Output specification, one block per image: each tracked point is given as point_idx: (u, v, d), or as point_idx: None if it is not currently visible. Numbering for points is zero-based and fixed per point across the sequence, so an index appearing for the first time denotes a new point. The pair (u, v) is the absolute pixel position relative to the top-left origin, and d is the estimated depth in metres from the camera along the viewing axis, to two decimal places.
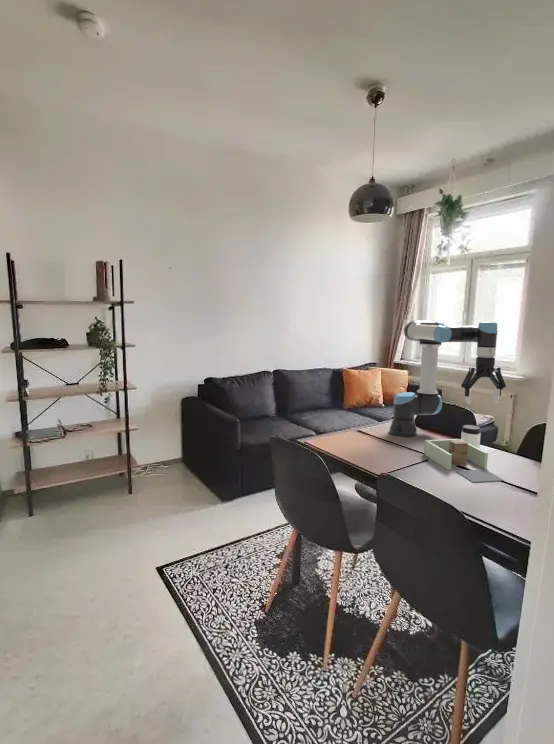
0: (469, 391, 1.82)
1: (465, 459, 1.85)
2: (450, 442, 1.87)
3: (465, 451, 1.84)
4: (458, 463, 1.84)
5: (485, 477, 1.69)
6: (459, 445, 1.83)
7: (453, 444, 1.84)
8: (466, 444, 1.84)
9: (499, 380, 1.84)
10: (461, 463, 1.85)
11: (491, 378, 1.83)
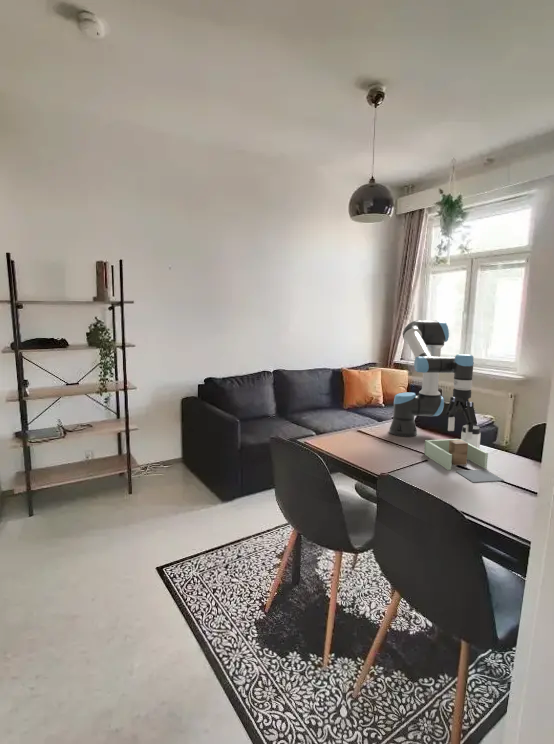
0: None
1: (465, 459, 1.85)
2: (450, 442, 1.87)
3: (465, 451, 1.84)
4: (458, 463, 1.84)
5: (485, 477, 1.69)
6: (459, 445, 1.83)
7: (453, 444, 1.84)
8: (466, 444, 1.84)
9: None
10: (461, 463, 1.85)
11: None
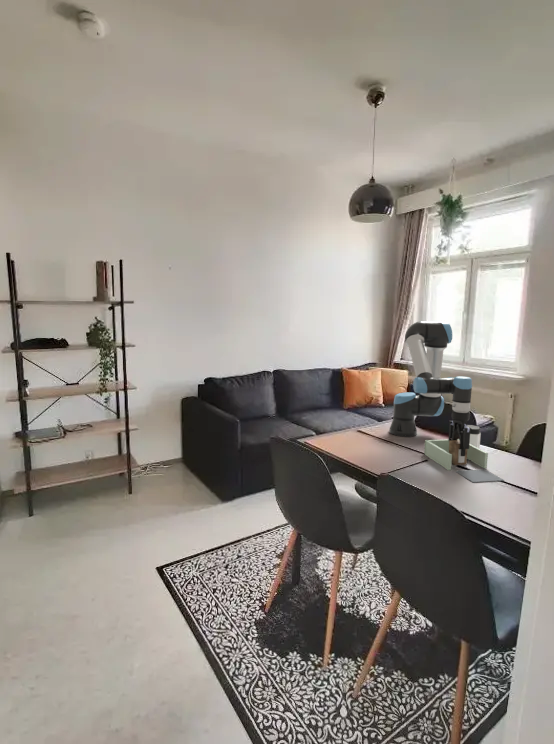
0: None
1: (465, 459, 1.85)
2: (450, 442, 1.87)
3: (465, 451, 1.84)
4: (458, 463, 1.84)
5: (485, 477, 1.69)
6: (459, 445, 1.83)
7: (453, 444, 1.84)
8: None
9: None
10: (461, 463, 1.85)
11: None
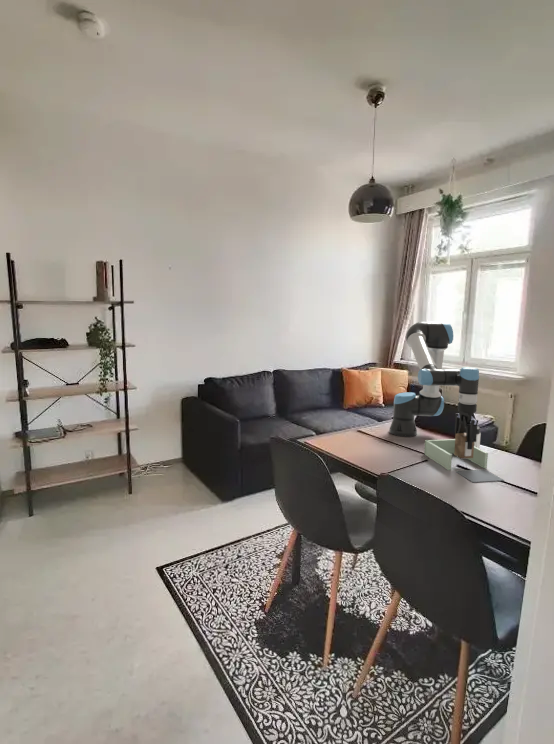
0: None
1: (472, 452, 1.80)
2: (456, 435, 1.82)
3: (472, 444, 1.79)
4: (465, 456, 1.79)
5: (485, 477, 1.69)
6: (465, 437, 1.78)
7: (459, 437, 1.79)
8: None
9: None
10: (468, 456, 1.79)
11: None
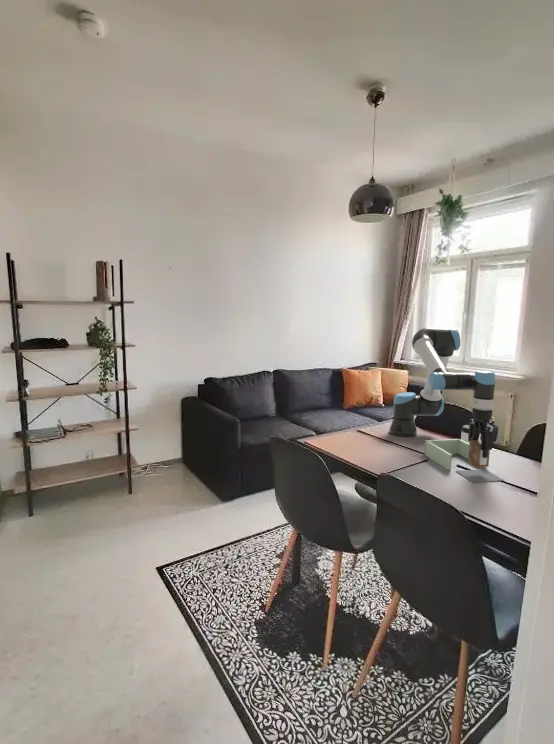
0: None
1: (487, 461, 1.70)
2: (470, 442, 1.72)
3: None
4: (479, 465, 1.69)
5: (485, 477, 1.69)
6: (480, 445, 1.68)
7: (474, 444, 1.69)
8: None
9: None
10: (483, 465, 1.69)
11: None
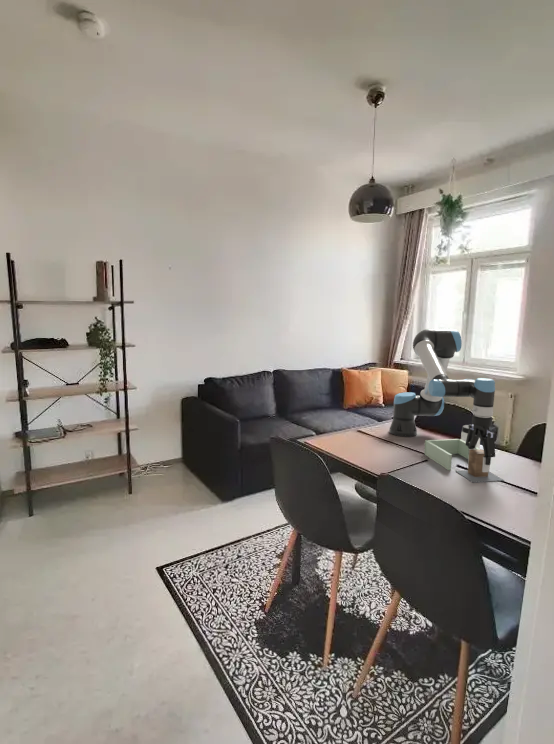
0: None
1: None
2: (470, 452, 1.72)
3: None
4: (479, 474, 1.70)
5: (485, 477, 1.69)
6: (480, 455, 1.68)
7: (474, 454, 1.70)
8: None
9: None
10: (482, 475, 1.70)
11: None
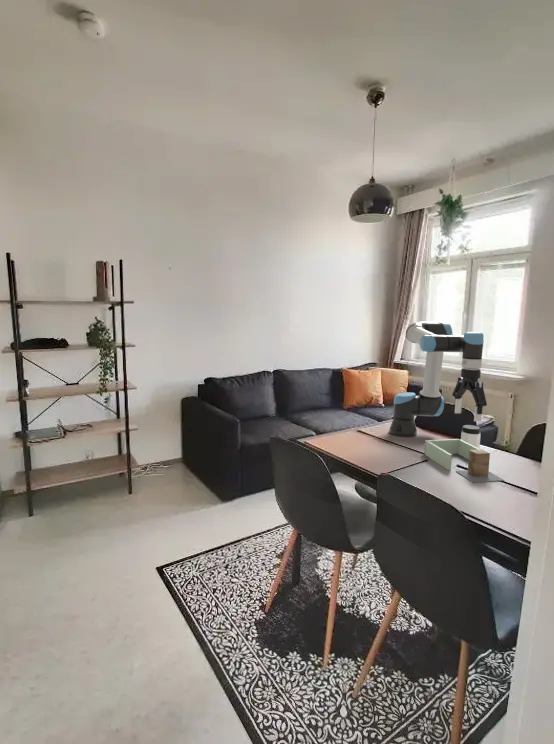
0: None
1: (487, 470, 1.70)
2: (470, 452, 1.72)
3: (487, 462, 1.69)
4: (479, 474, 1.70)
5: (485, 477, 1.69)
6: (480, 455, 1.68)
7: (474, 454, 1.70)
8: (488, 454, 1.69)
9: None
10: (482, 475, 1.70)
11: None
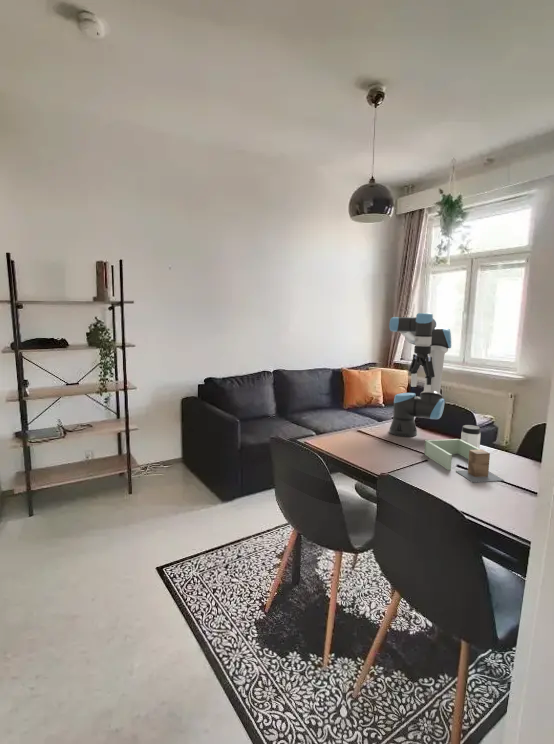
0: None
1: (487, 470, 1.70)
2: (470, 452, 1.72)
3: (487, 462, 1.69)
4: (479, 474, 1.70)
5: (485, 477, 1.69)
6: (480, 455, 1.68)
7: (474, 454, 1.70)
8: (488, 454, 1.69)
9: None
10: (482, 475, 1.70)
11: None
